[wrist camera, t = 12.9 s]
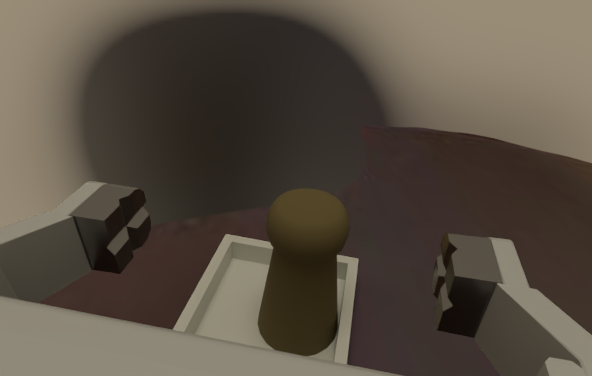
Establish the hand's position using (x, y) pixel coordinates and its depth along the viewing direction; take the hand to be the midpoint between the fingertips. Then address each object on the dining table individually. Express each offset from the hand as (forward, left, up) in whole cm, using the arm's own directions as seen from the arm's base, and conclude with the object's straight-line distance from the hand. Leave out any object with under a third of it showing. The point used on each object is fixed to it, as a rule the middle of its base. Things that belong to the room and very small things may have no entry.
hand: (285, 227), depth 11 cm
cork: (+1, -12, -18) cm, 22 cm away
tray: (+3, -12, -19) cm, 22 cm away
